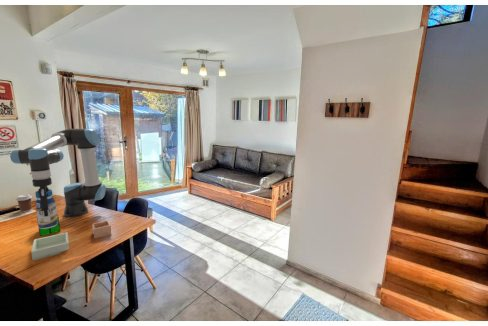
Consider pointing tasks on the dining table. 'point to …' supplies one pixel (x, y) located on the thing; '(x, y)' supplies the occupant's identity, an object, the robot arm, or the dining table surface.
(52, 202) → the beverage bottle
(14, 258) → the dining table surface
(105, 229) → the pink box
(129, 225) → the dining table surface
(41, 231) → the puzzle cube
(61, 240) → the green box
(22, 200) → the coffee cup
